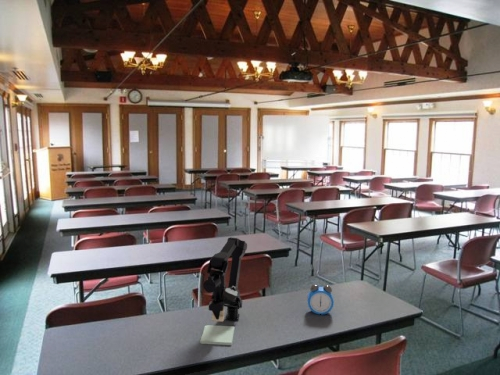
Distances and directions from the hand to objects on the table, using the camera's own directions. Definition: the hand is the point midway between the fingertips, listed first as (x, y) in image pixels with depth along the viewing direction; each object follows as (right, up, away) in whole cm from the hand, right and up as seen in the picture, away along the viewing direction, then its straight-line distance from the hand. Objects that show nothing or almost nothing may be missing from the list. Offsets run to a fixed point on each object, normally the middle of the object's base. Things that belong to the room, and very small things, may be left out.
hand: (218, 316), depth 174 cm
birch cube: (0, -1, 0) cm, 1 cm away
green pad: (0, -9, +1) cm, 10 cm away
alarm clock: (+51, -7, +27) cm, 58 cm away
